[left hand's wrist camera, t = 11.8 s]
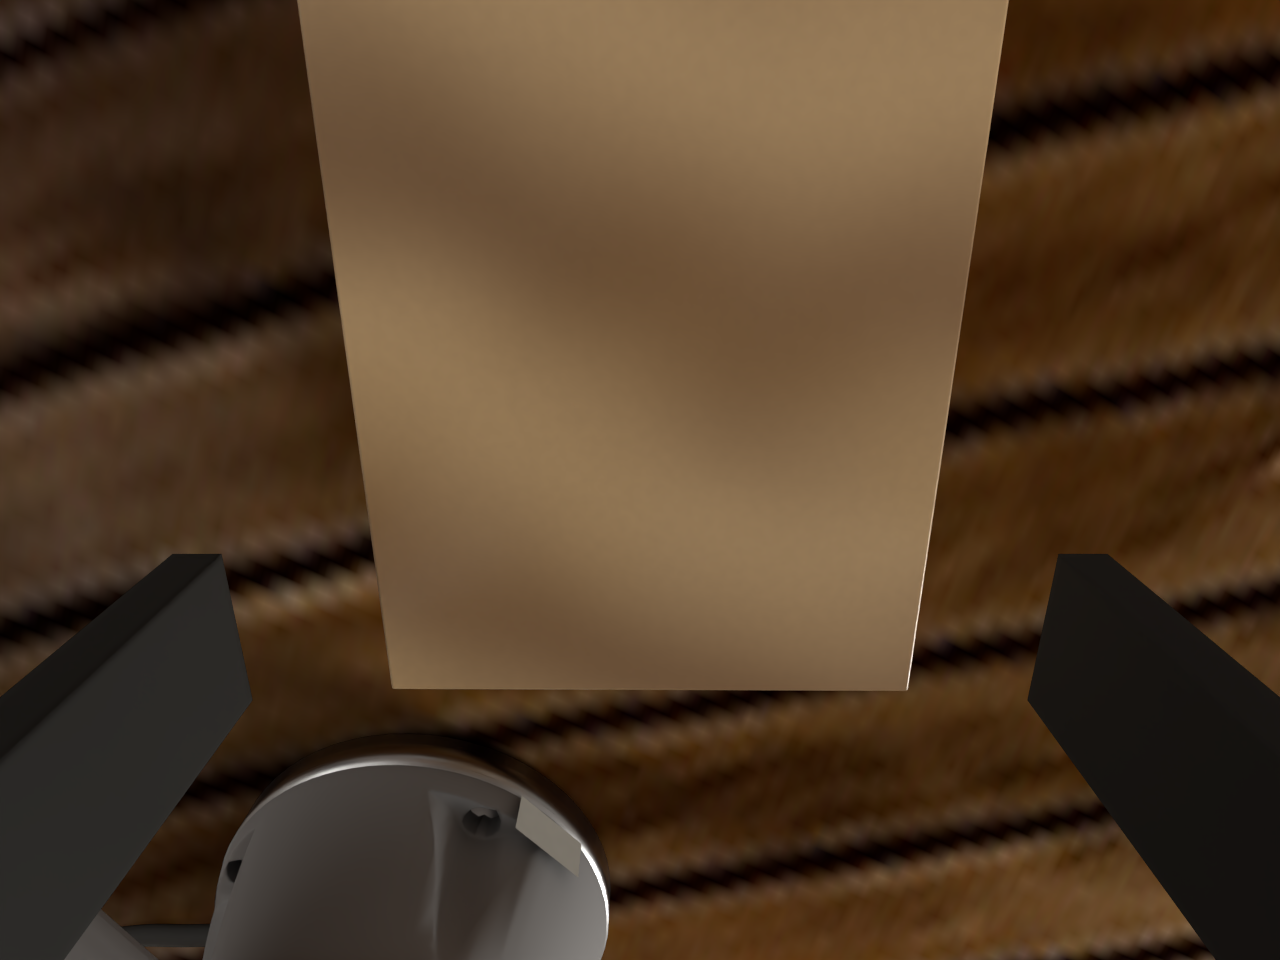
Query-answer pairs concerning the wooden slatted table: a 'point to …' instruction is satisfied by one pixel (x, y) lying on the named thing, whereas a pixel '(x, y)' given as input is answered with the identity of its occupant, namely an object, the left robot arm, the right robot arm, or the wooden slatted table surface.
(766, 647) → the cabinet
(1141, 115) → the wooden slatted table surface
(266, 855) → the left robot arm
